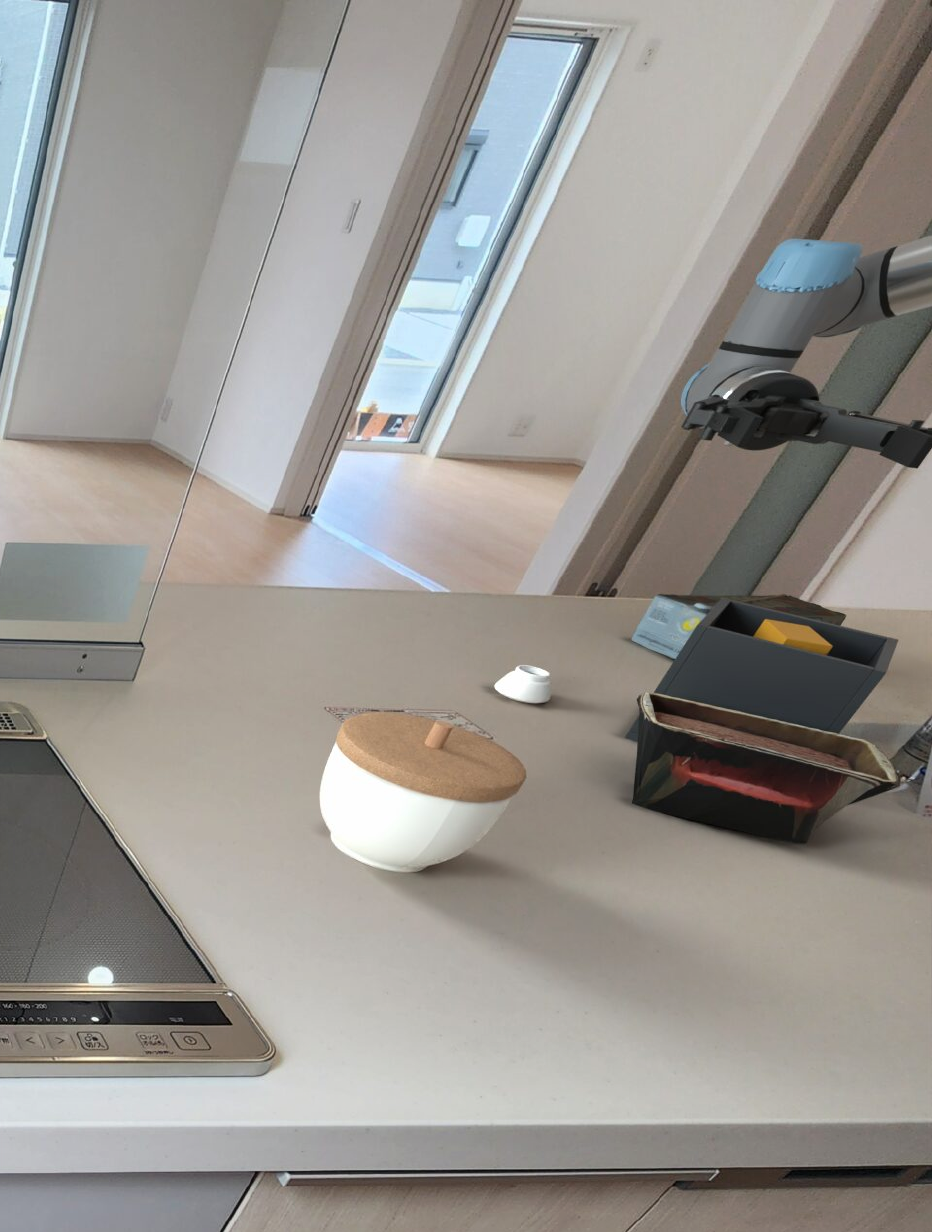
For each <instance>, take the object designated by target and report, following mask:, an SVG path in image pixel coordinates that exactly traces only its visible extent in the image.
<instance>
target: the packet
mask: <svg viewBox="0 0 932 1232" xmlns="http://www.w3.org/2000/svg"><path fill="white" fill-rule="evenodd" d="M753 637H756V638H760V639H764V640H768V641H772V642H775V643H779V644H783V645H787V646H791V647H795V648H799V649H803V650H807V651H811V652H815V653H819V654H823V655H827V654H828V652H829V651H830V649H831V648H832V647H833V646H832V645H831V644H829V643H828V642H827V641H826V640H825V639H823V638H822V637H821V636H820V635H819V634H817V633H816V632H815V631H814V630H813V629H811V628H810V627H809V626H804V625H798V624H793V623H787V622H781V621H775V620H769V619H765V620H764V621H763V623H762V624H761V626H760V627H759V629H758V630H757V632H756V633H755V635H754V636H753Z"/></svg>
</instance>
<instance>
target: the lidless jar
mask: <svg viewBox="0 0 932 1232" xmlns="http://www.w3.org/2000/svg"><path fill="white" fill-rule="evenodd" d="M550 677H551V673H550V672H549V671H548V670H545V669H544V668H540V667H538V666H533V665H529V664H527V665H526V664H520V665H519V664H518V665H517V666H516V667H515V670H511V671H509V672H508V673H507V674H505V675H504V676H503V677H502V678H501V679H499V680H498V681H496V682H495V684H494V689H495V691H497V692H498V693H499V694H500V695H502V696H503V697H505V698H508V699H510V700H513V701H515V702H516V701H517V702H519V703H525V704H543V703H547V702H548V701H550V698H551V696H552V694H551V691H552V690H551V689H552V687H551V686H552V685H551V681H550V680H549V679H550Z"/></svg>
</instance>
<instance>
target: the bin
mask: <svg viewBox="0 0 932 1232" xmlns="http://www.w3.org/2000/svg"><path fill="white" fill-rule="evenodd" d="M765 619H769V620H775V621H781V622H787V623H793V624H798V625H804V626H809V627H810V628H811V629H813V630H814V631H815V632H816V633H817V634H819V635H820V636H821V637H822V638H823V639H825V640H826V641H827V642H828V643H829V644H831V645H832V646H833V647H832V648H831V649H830V651H829V652H828V654H827V655H823V654H819V653H815V652H811V651H807V650H803V649H799V648H795V647H791V646H787V645H783V644H779V643H775V642H772V641H768V640H764V639H760V638H756V637H753V636H754V635H755V633H756V632H757V630H758V629H759V627H760V626H761V624H762V623H763V621H764V620H765ZM898 643H899V639H898V638H894V637H889V636H886V635H881V634H877V633H873V632H868V631H864V630H860V629H856V628H852V627H849V626H848V627H847V626H844V625H841V626H839V625H835V624H831V623H827V622H823V621H818V620H814V619H810V618H806V617H802V616H797V615H793V614H789V613H785V612H781V611H776V610H772V609H768V608H764V607H760V606H756V605H751V604H747V603H743V602H739V601H735V600H730V599H726V598H722V599H721V600H720V601H719V602H718V603H717V604H716V605H715V606H714V607H713V609H712V610H711V611H710V612H709V613H708V614H707V615H706V616H705V617H704V618H703V619H702V620H701V622H700V623H699V624H698V625H697V626H696V628H695V629H694V631H693V632H692V634H691V635H690V637H689V638H688V640H687V642H686V643H685V645H684V646H683V648H682V649H681V651H680V652H679V654H678V655H677V657H676V659H673V661H672V663H671V665H670V666H669V668H668V670H667V671H666V673H665V674H664V676H663V677H662V679H661V680H660V682H659V683H658V685H657V686H656V688H655V690H654V691H653V693H656V694H662V695H667V696H670V697H675V698H680V699H685V700H689V701H694V702H698V703H703V704H708V705H712V706H716V707H720V708H725V709H730V710H735V711H740V712H744V713H747V714H752V715H756V716H761V717H765V718H769V719H774V720H779V721H783V722H787V723H791V724H797V725H800V726H805V727H808V728H814V729H819V730H822V731H827V732H833V733H837V734H841V732H842V731H843V730H844V728H845V727H846V725H847V724H848V723H849V722H850V720H851V719H852V718H853V716H854V715H855V714H856V713H857V711H858V710H859V709H860V707H861V706H862V705H863V703H864V702H865V701H866V700H867V698H868V697H869V696H870V694H871V693H872V692H873V691H874V689H875V688H876V687H877V685H878V684H879V683H880V682H881V680H882V679H883V678H884V676H885V675H886V674H887V672H888V669H889V667H890V664H891V661H892V659H893V656H894V653H895V651H896V649H897V646H898ZM638 727H639V715H638V716H637V717H636V719H635V720H634V722H633V724H632V725H631V727H630V728H629V730H628V731H627V732H626V734H625V736H624V739H627V740H630V741H633V742H636V743H638Z"/></svg>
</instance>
